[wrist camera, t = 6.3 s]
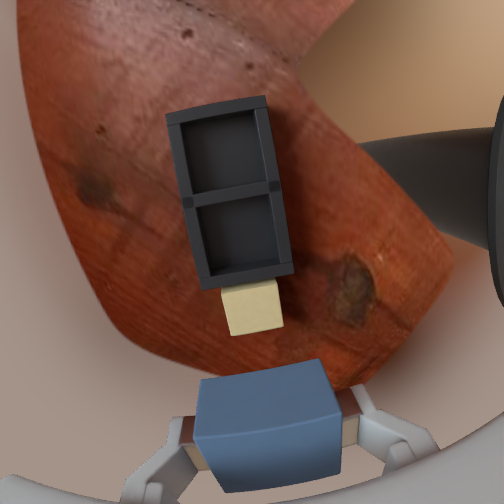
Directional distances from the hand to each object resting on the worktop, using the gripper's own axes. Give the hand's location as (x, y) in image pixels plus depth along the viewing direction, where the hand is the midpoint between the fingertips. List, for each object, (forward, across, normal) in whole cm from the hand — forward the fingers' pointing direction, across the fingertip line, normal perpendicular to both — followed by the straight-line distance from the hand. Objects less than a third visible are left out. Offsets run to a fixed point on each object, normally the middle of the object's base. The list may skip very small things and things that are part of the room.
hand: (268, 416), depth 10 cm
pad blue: (+1, 0, 0) cm, 1 cm away
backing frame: (+17, 0, -7) cm, 18 cm away
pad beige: (+17, 0, +2) cm, 17 cm away
